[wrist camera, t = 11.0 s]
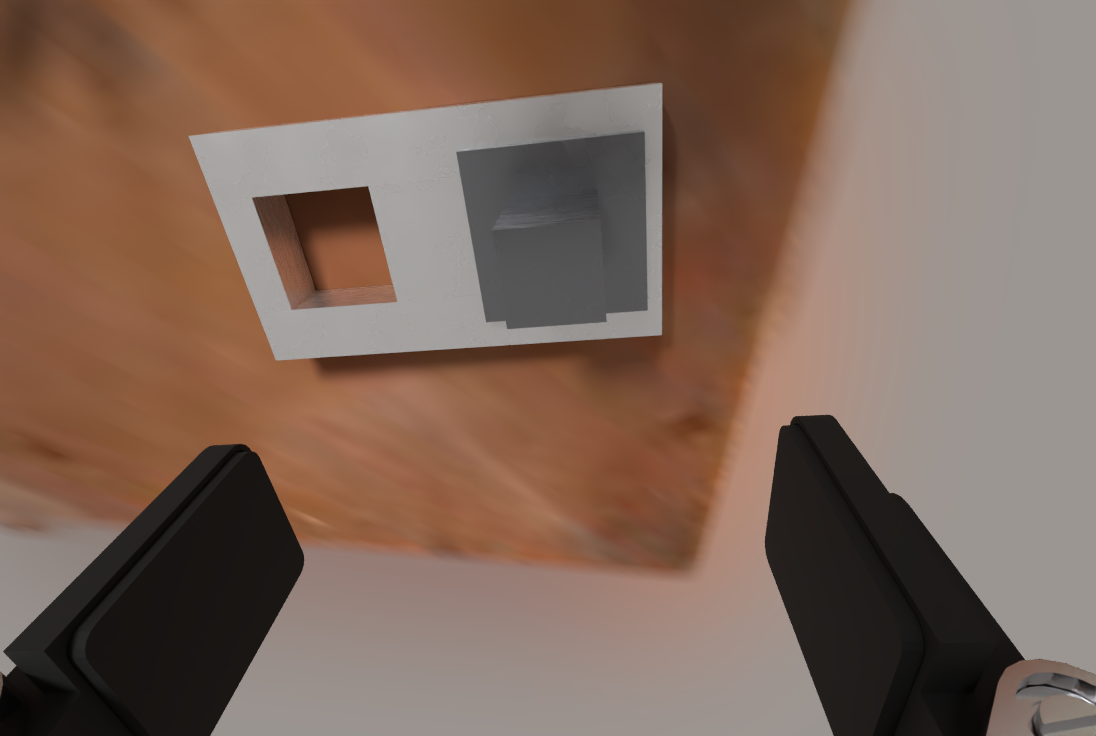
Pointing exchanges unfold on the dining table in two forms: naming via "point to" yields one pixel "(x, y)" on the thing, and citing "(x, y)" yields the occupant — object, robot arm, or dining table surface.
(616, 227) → the flanged block
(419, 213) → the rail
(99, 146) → the dining table surface
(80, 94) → the dining table surface
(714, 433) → the dining table surface
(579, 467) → the dining table surface
